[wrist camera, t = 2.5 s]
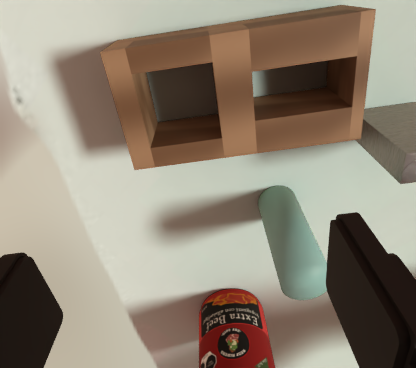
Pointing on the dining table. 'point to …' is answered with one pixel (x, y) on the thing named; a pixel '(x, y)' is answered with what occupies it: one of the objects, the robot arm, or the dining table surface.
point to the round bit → (292, 245)
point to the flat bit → (392, 139)
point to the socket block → (246, 85)
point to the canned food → (233, 332)
